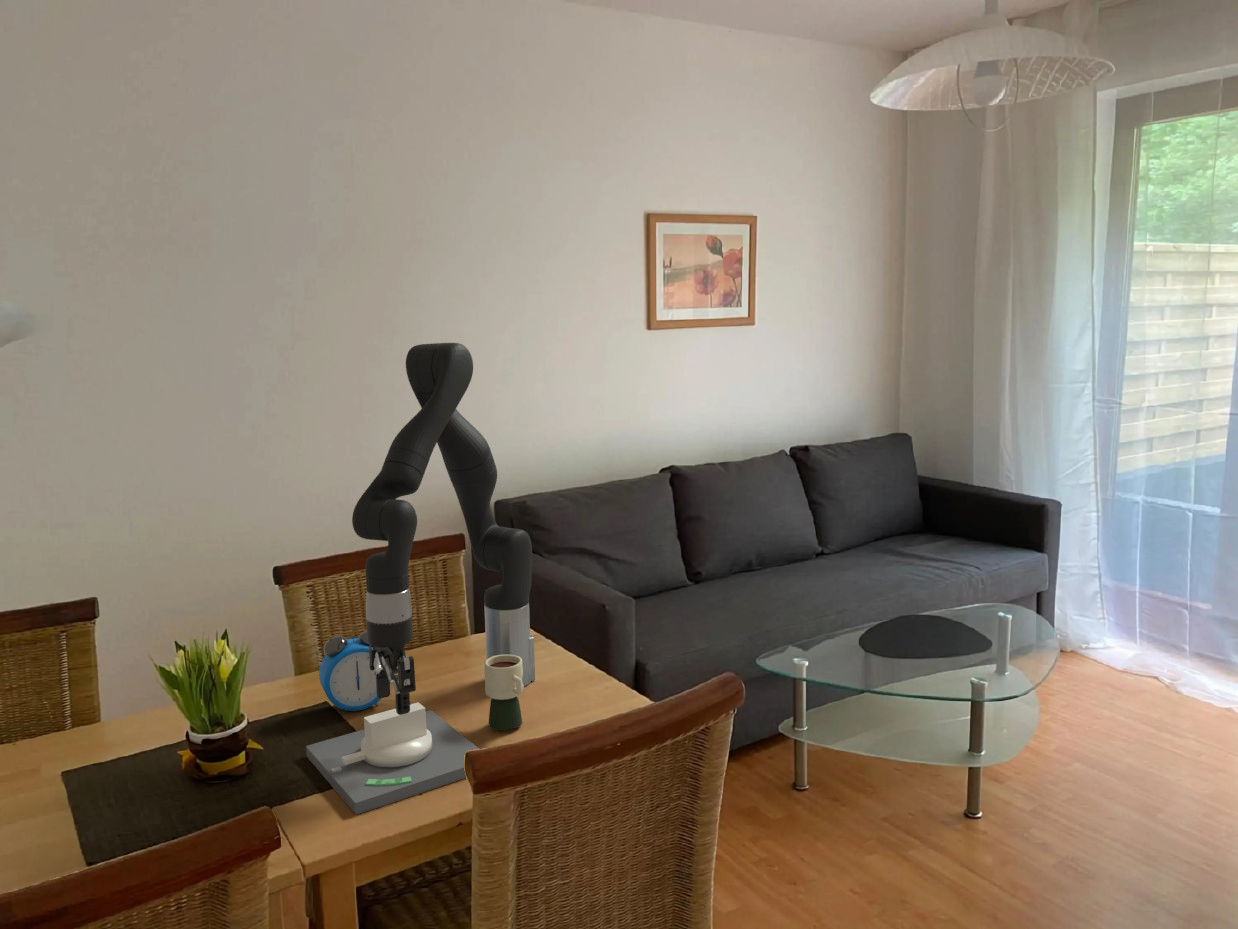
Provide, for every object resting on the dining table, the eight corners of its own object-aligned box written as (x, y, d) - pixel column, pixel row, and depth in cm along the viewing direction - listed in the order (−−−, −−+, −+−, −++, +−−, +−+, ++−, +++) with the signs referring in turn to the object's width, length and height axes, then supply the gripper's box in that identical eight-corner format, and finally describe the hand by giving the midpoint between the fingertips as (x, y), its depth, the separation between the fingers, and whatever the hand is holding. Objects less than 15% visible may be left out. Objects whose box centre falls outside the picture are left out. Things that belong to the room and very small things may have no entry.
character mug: (537, 730, 176) (536, 664, 174) (505, 742, 171) (503, 674, 169) (505, 711, 184) (503, 648, 182) (474, 722, 180) (471, 657, 177)
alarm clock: (326, 719, 182) (321, 645, 179) (320, 707, 187) (315, 635, 185) (394, 705, 188) (390, 633, 185) (386, 693, 193) (382, 624, 190)
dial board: (431, 720, 181) (431, 709, 180) (491, 769, 162) (491, 756, 161) (306, 756, 167) (305, 744, 166) (356, 815, 148) (355, 801, 147)
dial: (414, 728, 172) (413, 692, 171) (443, 753, 162) (442, 715, 161) (331, 753, 163) (328, 715, 162) (356, 781, 154) (354, 741, 152)
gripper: (427, 621, 156) (431, 713, 159) (393, 600, 167) (397, 686, 170) (384, 630, 152) (388, 725, 154) (352, 608, 163) (356, 696, 166)
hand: (393, 705), depth 162 cm, fingers open, 8 cm apart
